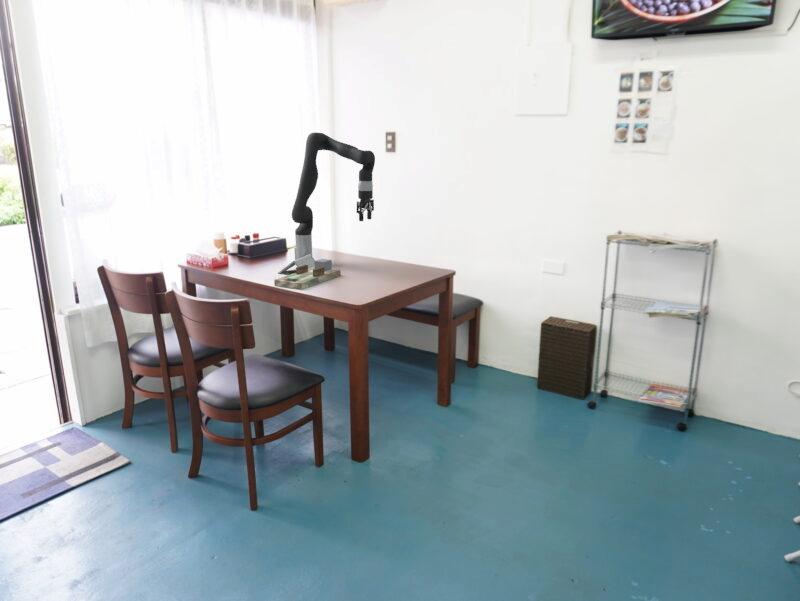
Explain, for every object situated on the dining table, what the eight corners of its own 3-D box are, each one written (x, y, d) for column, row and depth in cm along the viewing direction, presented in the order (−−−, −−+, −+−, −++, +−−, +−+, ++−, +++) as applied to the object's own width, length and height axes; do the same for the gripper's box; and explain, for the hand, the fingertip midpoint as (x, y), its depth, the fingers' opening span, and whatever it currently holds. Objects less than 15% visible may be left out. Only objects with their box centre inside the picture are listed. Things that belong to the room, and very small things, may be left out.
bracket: (310, 253, 320) (294, 260, 301) (320, 268, 320) (305, 275, 302) (293, 265, 324) (277, 273, 306) (304, 280, 325) (287, 288, 307)
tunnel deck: (274, 285, 281) (273, 272, 279) (316, 271, 311) (315, 260, 309) (300, 289, 274) (300, 276, 272) (340, 275, 304) (340, 263, 302)
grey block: (314, 270, 301) (314, 261, 300) (322, 267, 307) (322, 258, 305) (324, 271, 298) (323, 262, 297) (331, 269, 304) (331, 259, 303)
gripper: (366, 188, 308) (365, 218, 312) (352, 190, 296) (352, 221, 300) (378, 189, 305) (377, 219, 309) (364, 190, 293) (364, 222, 297)
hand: (365, 220), depth 305 cm, fingers open, 8 cm apart
